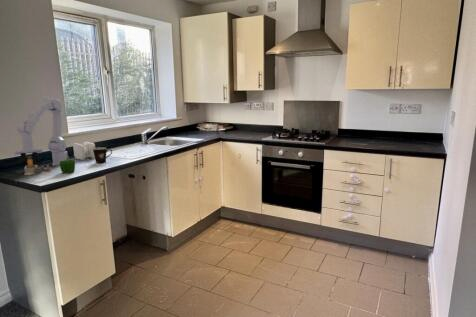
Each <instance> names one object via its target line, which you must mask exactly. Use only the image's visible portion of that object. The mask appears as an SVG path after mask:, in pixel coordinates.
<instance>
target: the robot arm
mask: <svg viewBox="0 0 476 317" xmlns="http://www.w3.org/2000/svg"><path fill="white" fill-rule="evenodd" d="M62 104H63V103H62V101H61V100H60V99H58V98H44V99H43V100H42V101H41V102H40V105H39V107H37V109H36V111H35V112H34V113H32V114H28V115H27V118H25V120H24V121H23V122H22V123H19V124H18V126H17V127H16V130H17V132H18V133H19V135H20V139H21V146H22V149H21V150H19V149H18V150H14V151H13V152H14V155H15V156H16V155H20V157H21V158H22V159H23V161H24V163H25V166H28V165H27V158H26V157H27V154H31V155H32V157H33V165H36V158H37V155H38V153H43V151H44V150H43V148H35V147H34V140H33V132H34V128H35V126H36V125H37V124H38V123H39V122H40V117H41V116H43V114H44V113H46V112H47V111H50V112H51V113H52V137H51V138H50V139H49V142H48V144H47V148H48V150H49V151H50V152H51V154H52V156H51V158H52V166H60V161H65V160H66V159H67V157H69V156H68V155H69V154H68V151H67V150H66V148H67V145H66V140H65V139H64V138H63V108H62V107H63V105H62ZM68 160H70V158H68Z"/></svg>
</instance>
